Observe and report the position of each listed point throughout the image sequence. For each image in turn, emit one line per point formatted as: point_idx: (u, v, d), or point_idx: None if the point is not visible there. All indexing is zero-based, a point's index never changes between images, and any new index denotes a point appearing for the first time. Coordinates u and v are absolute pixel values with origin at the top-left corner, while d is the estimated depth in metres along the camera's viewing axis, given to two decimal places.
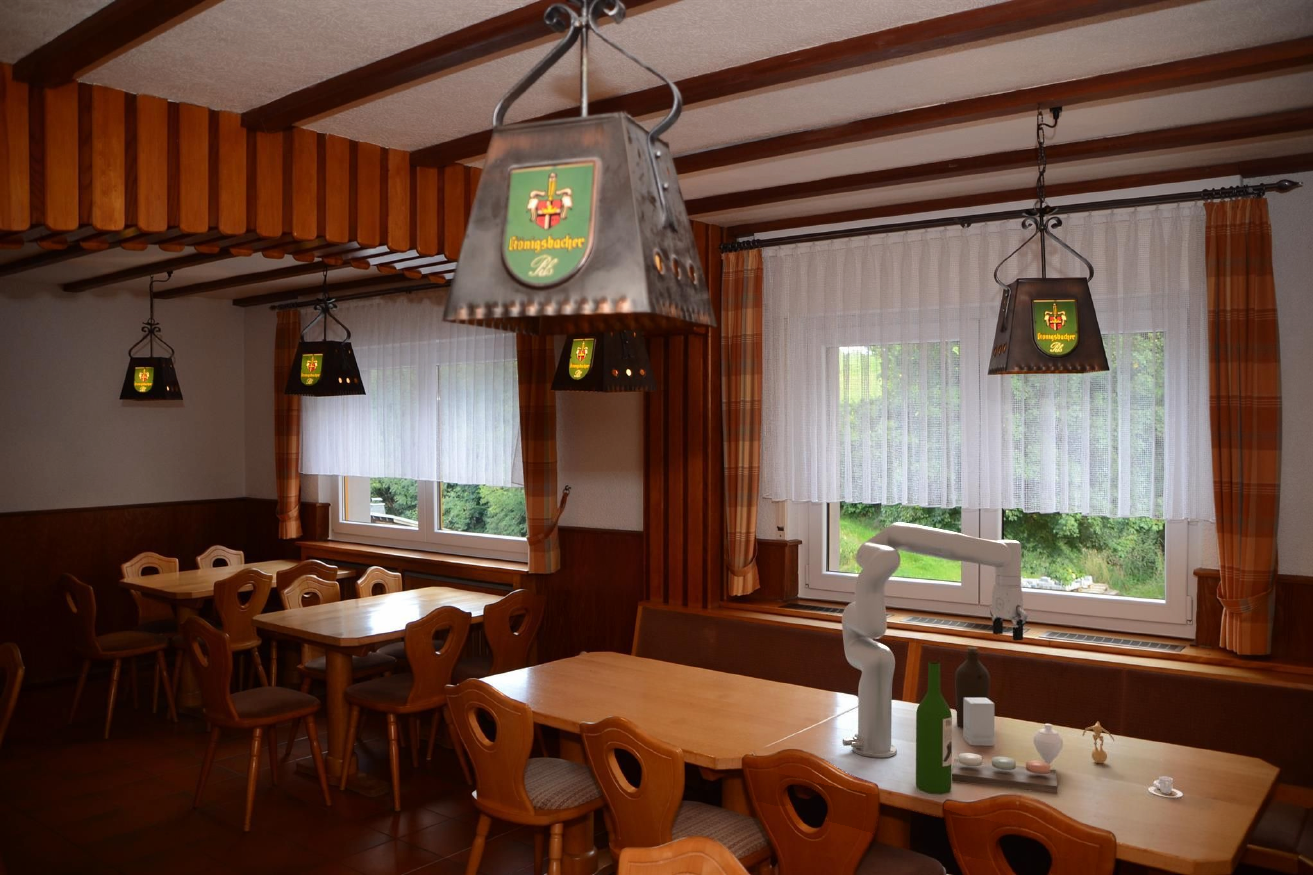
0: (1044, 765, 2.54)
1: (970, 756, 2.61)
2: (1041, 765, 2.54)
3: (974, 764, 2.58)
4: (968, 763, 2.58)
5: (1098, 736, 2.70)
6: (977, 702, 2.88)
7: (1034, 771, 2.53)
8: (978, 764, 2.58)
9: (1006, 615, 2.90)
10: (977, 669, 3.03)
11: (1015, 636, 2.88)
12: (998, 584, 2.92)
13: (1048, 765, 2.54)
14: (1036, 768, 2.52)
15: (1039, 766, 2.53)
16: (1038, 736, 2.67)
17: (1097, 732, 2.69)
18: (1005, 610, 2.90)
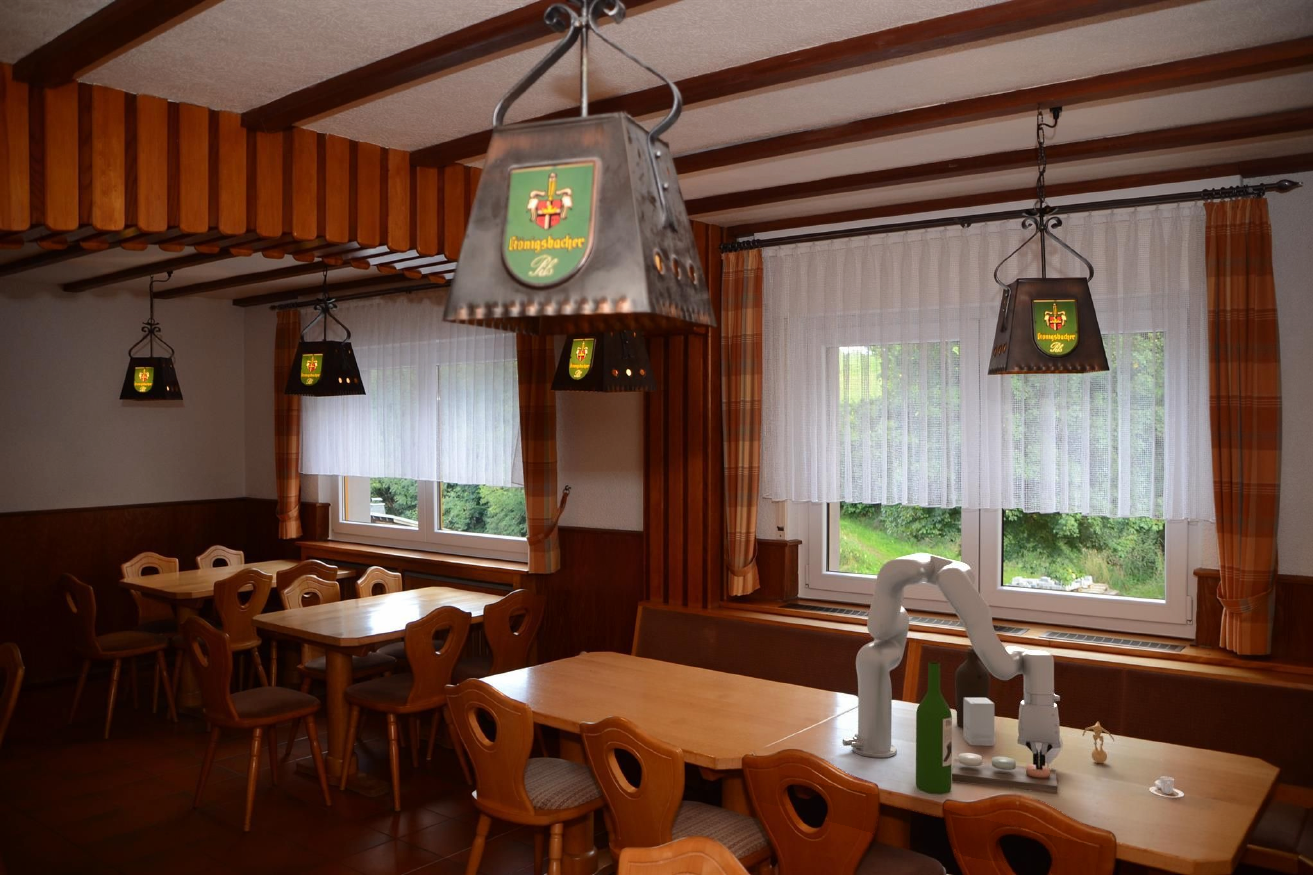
0: (1044, 769, 2.54)
1: (970, 756, 2.61)
2: None
3: (974, 764, 2.58)
4: (968, 763, 2.58)
5: (1098, 736, 2.70)
6: (977, 702, 2.88)
7: (1034, 775, 2.53)
8: (978, 764, 2.58)
9: None
10: (977, 669, 3.03)
11: None
12: None
13: (1048, 769, 2.54)
14: (1036, 772, 2.52)
15: (1039, 770, 2.53)
16: None
17: (1097, 732, 2.69)
18: None
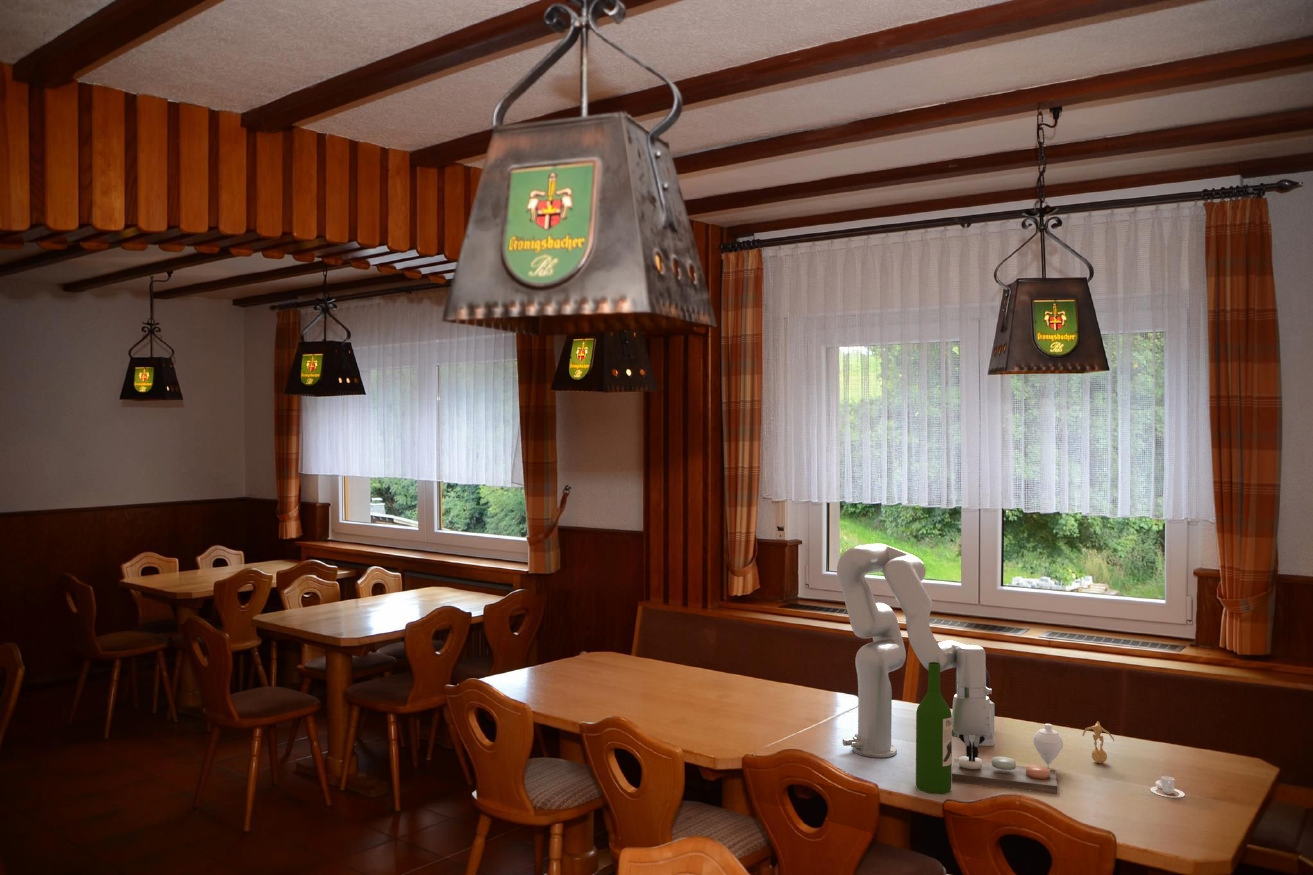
0: (1044, 769, 2.54)
1: None
2: (1041, 770, 2.54)
3: (974, 767, 2.58)
4: (968, 766, 2.58)
5: (1098, 736, 2.70)
6: None
7: (1034, 776, 2.53)
8: (978, 767, 2.58)
9: None
10: None
11: None
12: None
13: (1048, 770, 2.54)
14: (1036, 773, 2.52)
15: (1039, 771, 2.53)
16: (1038, 736, 2.67)
17: (1097, 732, 2.69)
18: None
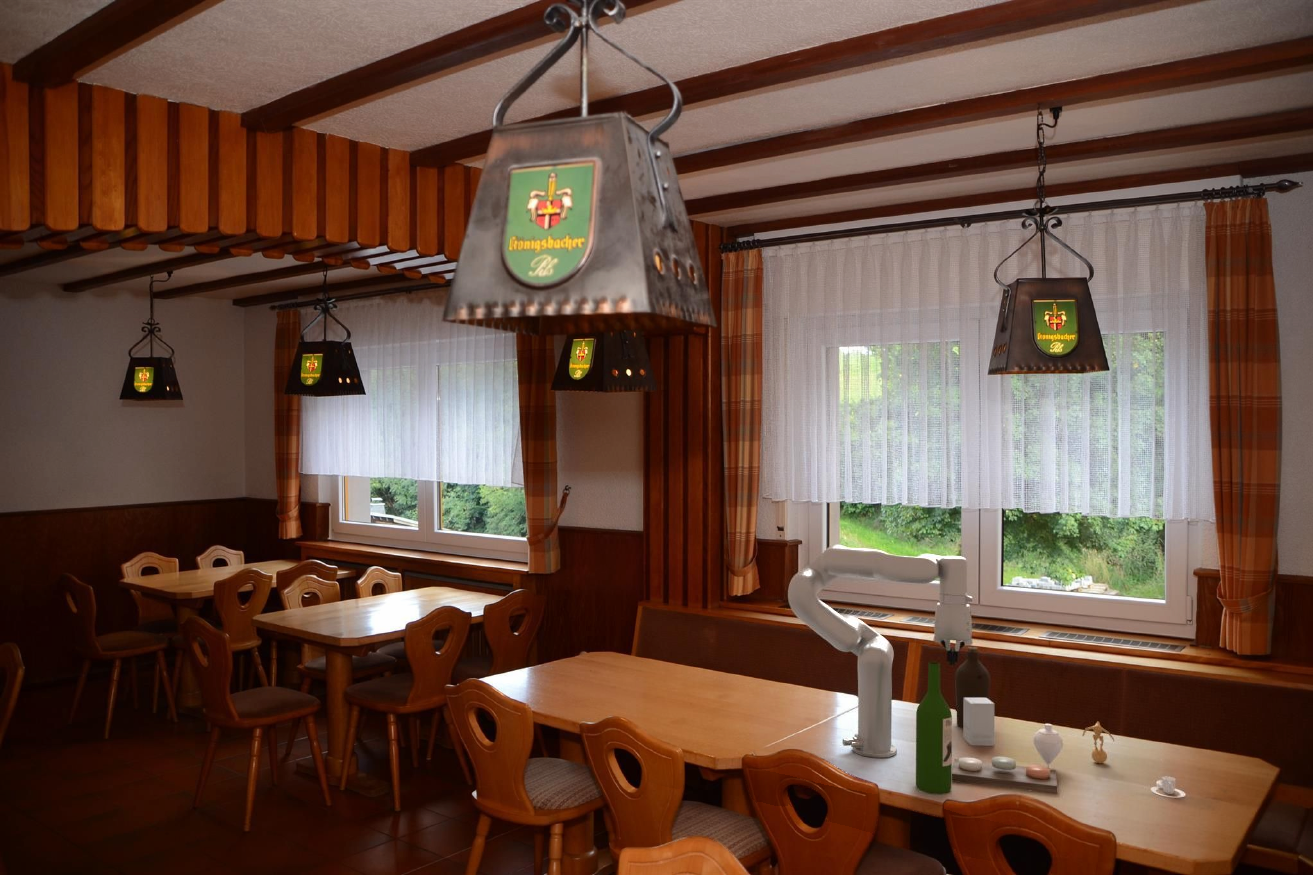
0: (1044, 769, 2.54)
1: (970, 761, 2.61)
2: (1041, 770, 2.54)
3: (974, 769, 2.58)
4: (968, 768, 2.58)
5: (1098, 736, 2.70)
6: (977, 702, 2.88)
7: (1034, 776, 2.53)
8: (978, 769, 2.58)
9: None
10: (977, 669, 3.03)
11: None
12: None
13: (1048, 770, 2.54)
14: (1036, 773, 2.52)
15: (1039, 771, 2.53)
16: (1038, 736, 2.67)
17: (1097, 732, 2.69)
18: None
